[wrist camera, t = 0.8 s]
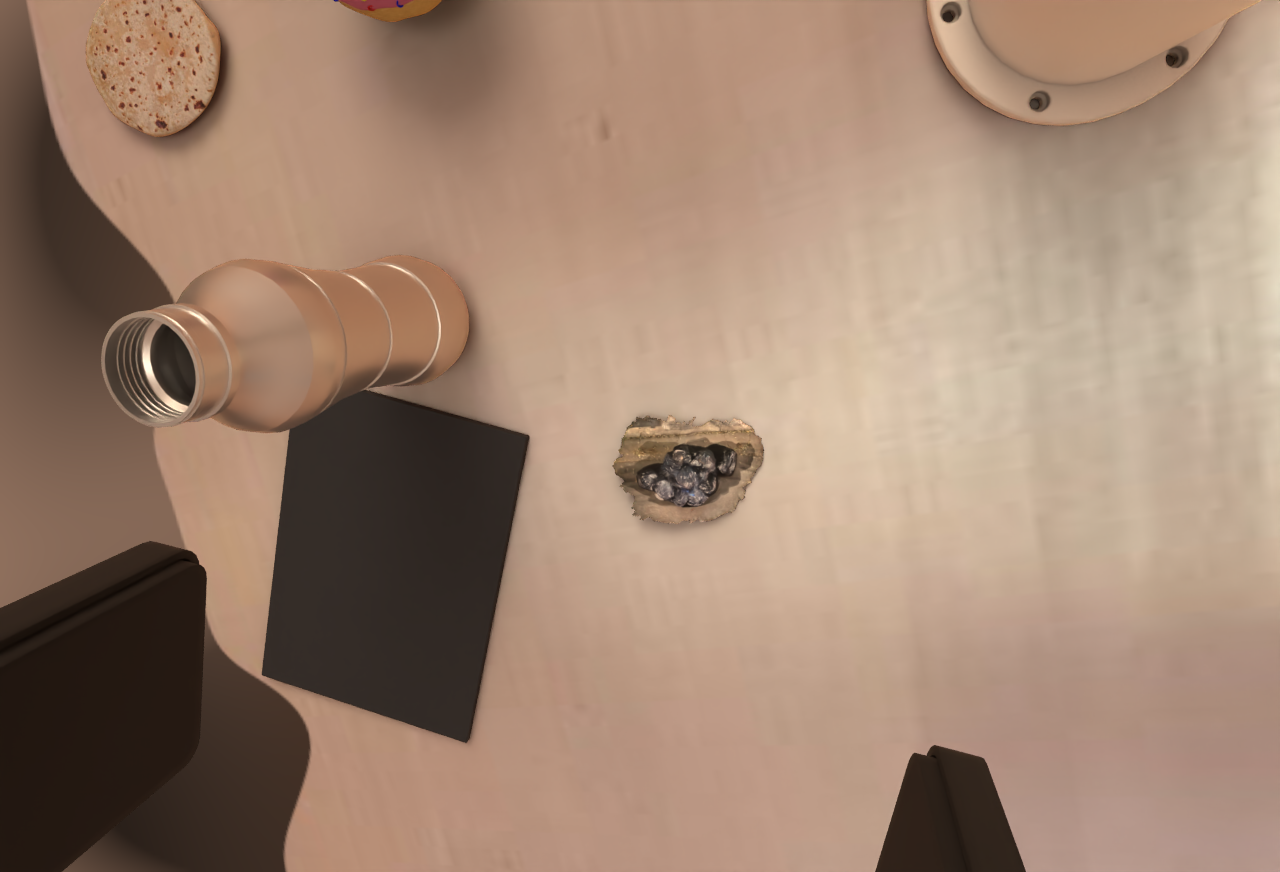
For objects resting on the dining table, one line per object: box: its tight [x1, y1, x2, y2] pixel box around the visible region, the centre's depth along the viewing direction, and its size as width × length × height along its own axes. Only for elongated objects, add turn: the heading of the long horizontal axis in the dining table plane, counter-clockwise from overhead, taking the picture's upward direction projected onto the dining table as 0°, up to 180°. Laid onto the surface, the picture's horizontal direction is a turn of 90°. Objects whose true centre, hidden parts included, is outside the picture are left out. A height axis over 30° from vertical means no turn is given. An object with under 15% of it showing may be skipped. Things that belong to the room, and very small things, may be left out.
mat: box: [262, 390, 529, 743], centre depth 49 cm, size 20×14×1 cm
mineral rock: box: [613, 415, 764, 524], centre depth 43 cm, size 7×8×2 cm
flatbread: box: [86, 0, 221, 137], centre depth 44 cm, size 8×8×1 cm
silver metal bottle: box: [101, 255, 469, 433], centre depth 35 cm, size 6×7×20 cm
